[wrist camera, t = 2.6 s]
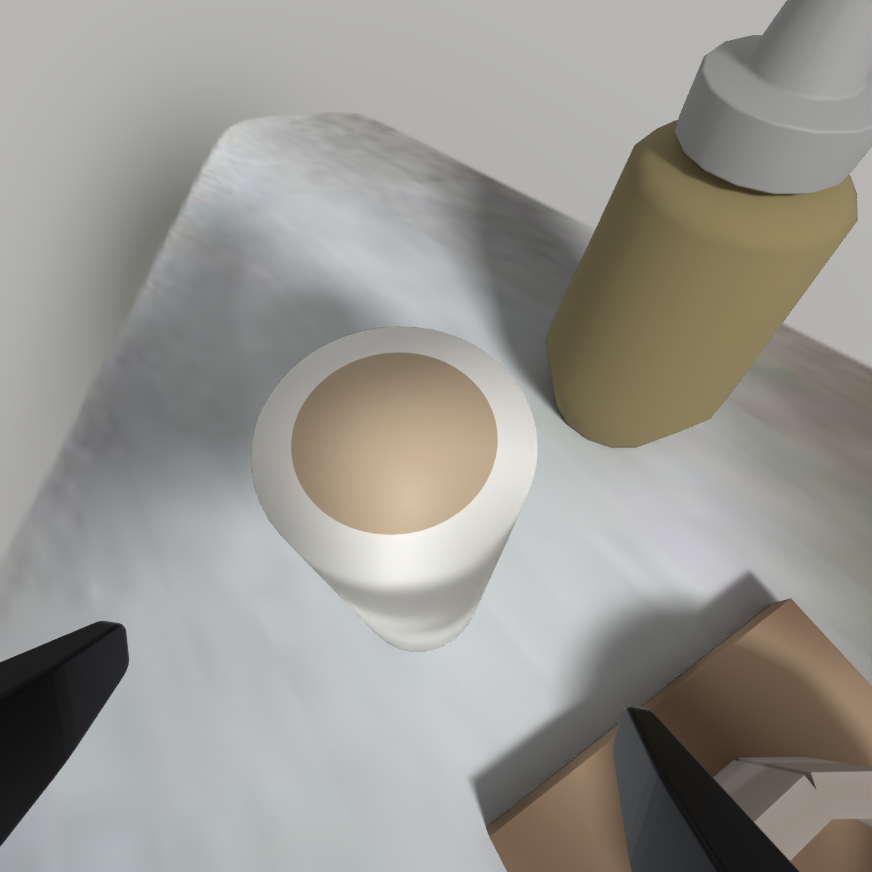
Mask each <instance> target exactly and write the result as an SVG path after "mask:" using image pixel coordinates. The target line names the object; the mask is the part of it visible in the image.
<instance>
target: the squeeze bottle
mask: <svg viewBox="0 0 872 872" xmlns="http://www.w3.org/2000/svg"><path fill="white" fill-rule="evenodd" d="M871 146H872V0H787V1H786V2H785V4H784V5H783V7H782V8H781V10H780V11H779V12H778V14H777V15H776V17H775V18H774V20H773V21H772V23H771V24H770V25H769V27H768V28H767V30H766V31H765V32H764V34H763V35H762V36H761V35H753V36H748V37H743V38H739V39H734V40H730V41H726V42H724V43H723V44H721V45H720V46H718V47H717V48H715V49H714V50H713V51H711V52H710V53H708V54H707V55H705V56H704V58H703V60H702V63H701V65H700V67H699V70H698V72H697V74H696V77H695V79H694V82H693V84H692V87H691V89H690V91H689V94H688V96H687V98H686V101H685V104H684V106H683V108H682V111H681V113H680V116H679V119H678V120H676V121H673V122H671V123H669V124H667V125H664V126H662V127H660V128H658V129H656V130H654V131H653V132H652V133H650V134H649V135H648V136H647V137H645V138H644V139H642V140H641V141H640V142H638V143H637V144H636V145H635V146H634V148H633V150H632V152H631V154H630V157H629V159H628V161H627V163H626V165H625V167H624V169H623V171H622V174H621V176H620V178H619V180H618V182H617V184H616V186H615V189H614V191H613V193H612V195H611V197H610V200H609V202H608V204H607V206H606V208H605V210H604V212H603V214H602V216H601V219H600V221H599V223H598V225H597V227H596V229H595V232H594V234H593V236H592V238H591V240H590V242H589V244H588V247H587V249H586V251H585V253H584V255H583V257H582V259H581V262H580V264H579V266H578V268H577V270H576V272H575V275H574V277H573V279H572V281H571V283H570V285H569V287H568V290H567V292H566V294H565V296H564V298H563V300H562V302H561V305H560V307H559V309H558V311H557V313H556V315H555V318H554V320H553V323H552V326H551V328H550V331H549V334H548V336H547V339H546V345H547V351H548V358H549V365H550V371H551V377H552V382H553V388H554V394H555V399H556V405H557V408H558V409H559V411H560V412H561V414H562V416H563V417H564V419H565V420H566V422H567V423H568V425H569V426H570V427H572V428H573V429H574V430H576V431H577V432H578V433H580V434H581V435H582V436H584V437H585V438H586V439H588V440H590V441H593V442H596V443H599V444H602V445H605V446H608V447H611V448H636V447H639V446H641V445H644V444H647V443H650V442H652V441H655V440H658V439H660V438H663V437H666V436H669V435H671V434H674V433H677V432H679V431H682V430H684V429H687V428H689V427H692V426H694V425H696V424H699V423H701V422H704V421H706V420H709V419H710V418H711V417H712V416H713V415H714V413H715V412H716V411H717V410H718V409H719V407H720V406H721V405H722V404H723V403H724V401H725V400H726V399H727V398H728V396H729V395H730V394H731V392H732V391H733V390H734V388H735V387H736V386H737V384H738V383H739V382H740V380H741V379H742V377H743V376H744V375H745V373H746V372H747V371H748V369H749V368H750V367H751V365H752V364H753V362H754V361H755V360H756V358H757V357H758V356H759V354H760V353H761V352H762V350H763V349H764V347H765V346H766V345H767V343H768V342H769V341H770V339H771V338H772V337H773V335H774V334H775V332H776V331H777V330H778V328H779V327H780V326H781V324H782V323H783V321H784V320H785V319H786V317H787V316H788V315H789V313H790V312H791V311H792V309H793V308H794V306H795V305H796V304H797V302H798V301H799V299H800V298H801V297H802V296H803V294H804V293H805V291H806V290H807V289H808V287H809V286H810V285H811V283H812V282H813V281H814V279H815V278H816V276H817V275H818V274H819V272H820V271H821V270H822V268H823V267H824V266H825V264H826V263H827V261H828V260H829V259H830V257H831V256H832V255H833V253H834V252H835V250H836V249H837V248H838V246H839V245H840V244H841V242H842V241H843V240H844V238H845V237H846V236H847V234H848V233H849V231H850V230H851V229H852V227H853V226H854V225H855V223H856V222H857V220H858V217H857V193H856V190H855V187H854V184H853V182H852V179H851V176H850V175H849V174H850V173H851V171H852V170H853V169H854V168H855V167H856V166H857V164H858V163H859V162H860V160H861V159H862V158H863V157H864V156H865V154H866V153H867V152H868V150H869V149H870V148H871Z"/></svg>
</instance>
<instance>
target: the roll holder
mask: <svg viewBox="0 0 872 872" xmlns="http://www.w3.org/2000/svg"><path fill="white" fill-rule="evenodd" d="M641 708H647V709H649V710H651V711H652V712H653V713H654V714H655V715H656V716H657V717H658V718H659V719H660V720H661V721H662V722H663V723H664V725H665V726H666V727H667V728H668V729H669V730H670V731H671V732H672V733H673V734H674V735H675V737H676V738H677V739H678V740H679V741H680V742H681V743H682V744H683V745H684V746H685V747H686V749H687V750H688V751H689V752H690V753H691V754H692V755H693V756H694V757H695V758H696V759H697V760H698V762H699V763H700V764H701V765H702V766H703V767H704V768H705V769H706V770H707V771H708V772H709V774H710V775H711V776H712V777H713V778H714V779H715V780H716V781H717V782H718V783H719V784H720V785H721V787H722V788H723V789H724V790H725V791H726V792H727V793H728V794H729V795H730V796H731V797H732V799H733V800H734V801H735V802H736V803H737V804H738V805H739V806H740V807H741V808H742V809H743V810H744V812H745V813H746V814H747V815H748V816H749V817H750V818H751V819H752V820H753V821H754V822H755V824H756V825H757V826H758V827H759V828H760V829H761V830H762V831H763V832H764V833H765V834H766V836H767V837H768V838H769V839H770V840H771V841H772V842H773V843H774V844H775V845H776V846H777V847H778V849H779V850H780V851H781V852H782V853H783V854H784V855H785V856H786V857H787V858H788V859H789V861H790V862H791V863H792V864H793V865H794V866H795V867H796V868H797V869H798V870H799V871H800V872H872V686H871V685H870V684H869V683H868V682H867V681H866V680H865V678H864V677H863V676H862V675H861V674H860V673H859V672H858V671H857V670H856V669H855V668H854V666H853V665H852V664H851V663H850V662H849V661H848V660H847V659H846V658H845V657H844V656H843V655H842V653H841V652H840V651H839V650H838V649H837V648H836V647H835V646H834V645H833V644H832V643H831V641H830V640H829V639H828V638H827V637H826V636H825V635H824V634H823V633H822V632H821V631H820V630H819V628H818V627H817V626H816V625H815V624H814V623H813V622H812V621H811V620H810V619H809V618H808V616H807V615H806V614H805V613H804V612H803V611H802V610H801V609H800V608H799V607H798V606H797V604H796V603H795V602H794V601H793V600H792V599H791V598H790V599H787V600H783V601H780V602H776V603H772V604H771V605H769V606H768V607H767V608H766V609H764V610H763V611H762V612H760V613H759V614H758V615H757V616H755V617H754V618H753V619H751V620H750V621H749V622H748V623H746V624H745V625H744V626H743V627H741V628H740V629H739V630H737V631H736V632H735V633H734V634H732V635H731V636H730V637H729V638H727V639H726V640H725V641H723V642H722V643H721V644H720V645H718V646H717V647H716V648H714V649H713V650H712V651H711V652H709V653H708V654H707V655H706V656H704V657H703V658H702V659H700V660H699V661H698V662H697V663H695V664H694V665H693V666H692V667H690V668H689V669H688V670H686V671H685V672H684V673H683V674H681V675H680V676H679V677H677V678H676V679H675V680H674V681H672V682H671V683H670V684H669V685H667V686H666V687H665V688H663V689H662V690H661V691H660V692H658V693H657V694H656V695H655V696H653V697H652V698H651V699H649V700H648V701H647V702H646V703H644V704H643V705H642V706H641ZM617 727H618V725H616V726H615V727H614V728H612V729H611V730H610V731H609V732H607V733H606V734H605V735H604V736H602V737H601V738H600V739H598V740H597V741H596V742H595V743H593V744H592V745H591V746H589V747H588V748H587V749H586V750H584V751H583V752H582V753H581V754H579V755H578V756H577V757H575V758H574V759H573V760H572V761H570V762H569V763H568V764H567V765H565V766H564V767H563V768H561V769H560V770H559V771H558V772H556V773H555V774H554V775H552V776H551V777H550V778H549V779H547V780H546V781H545V782H544V783H542V784H541V785H540V786H538V787H537V788H536V789H535V790H533V791H532V792H531V793H530V794H528V795H527V796H526V797H524V798H523V799H522V800H521V801H519V802H518V803H517V804H515V805H514V806H513V807H512V808H510V809H509V810H508V811H507V812H505V813H504V814H503V815H501V816H500V817H499V818H498V819H496V820H495V821H494V822H493V823H491V824H490V825H489V826H487V827H486V829H487V831H488V834H489V836H490V839H491V841H492V842H493V844H494V846H495V848H496V850H497V852H498V854H499V856H500V858H501V860H502V862H503V864H504V866H505V868H506V870H507V872H632V871H631V867H630V862H629V856H628V850H627V844H626V837H625V831H624V824H623V817H622V811H621V804H620V797H619V791H618V784H617V777H616V771H615V764H614V757H613V743H614V739H615V735H616V731H617Z"/></svg>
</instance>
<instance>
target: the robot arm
mask: <svg viewBox="0 0 872 872" xmlns="http://www.w3.org/2000/svg"><path fill="white" fill-rule="evenodd" d="M128 664H129V654H128V644H127V635H126V629H125V627H124V626H123V625H122V624H120V623H114V622H108V621H99V622H96V623H93V624H91V625H89V626H86V627H84V628H81V629H79V630H77V631H74V632H72V633H69V634H67V635H65V636H62V637H60V638H57V639H55V640H53V641H50V642H48V643H46V644H43V645H41V646H38V647H36V648H34V649H31V650H29V651H26V652H24V653H22V654H19V655H17V656H14V657H12V658H10V659H7V660H5V661H3V662H0V846H1V845H2V844H3V843H4V841H5V840H6V839H7V837H8V836H9V835H10V834H11V832H12V831H13V830H14V828H15V827H16V826H17V825H18V823H19V822H20V821H21V820H22V818H23V817H24V816H25V814H26V813H27V812H28V811H29V809H30V808H31V807H32V805H33V804H34V803H35V802H36V800H37V799H38V798H39V797H40V795H41V794H42V793H43V791H44V790H45V789H46V788H47V786H48V785H49V784H50V782H51V781H52V780H53V779H54V777H55V776H56V775H57V773H58V772H59V771H60V769H61V768H62V767H63V765H64V764H65V763H66V761H67V760H68V759H69V757H70V756H71V754H72V753H73V751H74V750H75V749H76V747H77V746H78V744H79V743H80V741H81V740H82V738H83V737H84V735H85V734H86V732H87V731H88V729H89V728H90V726H91V725H92V723H93V722H94V720H95V719H96V717H97V716H98V714H99V712H100V711H101V709H102V708H103V706H104V705H105V703H106V702H107V700H108V699H109V697H110V696H111V694H112V693H113V691H114V690H115V688H116V687H117V685H118V684H119V682H120V681H121V679H122V678H123V676H124V674H125V672H126V670H127V668H128ZM613 757H614V764H615V771H616V777H617V784H618V791H619V797H620V804H621V811H622V817H623V824H624V831H625V837H626V844H627V850H628V856H629V862H630V867H631V871H632V872H800V871H799V870H798V869H797V868H796V867H795V866H794V865H793V864H792V863H791V862H790V861H789V859H788V858H787V857H786V856H785V855H784V854H783V853H782V852H781V851H780V850H779V849H778V847H777V846H776V845H775V844H774V843H773V842H772V841H771V840H770V839H769V838H768V837H767V836H766V834H765V833H764V832H763V831H762V830H761V829H760V828H759V827H758V826H757V825H756V824H755V822H754V821H753V820H752V819H751V818H750V817H749V816H748V815H747V814H746V813H745V812H744V810H743V809H742V808H741V807H740V806H739V805H738V804H737V803H736V802H735V801H734V800H733V799H732V797H731V796H730V795H729V794H728V793H727V792H726V791H725V790H724V789H723V788H722V787H721V785H720V784H719V783H718V782H717V781H716V780H715V779H714V778H713V777H712V776H711V775H710V774H709V772H708V771H707V770H706V769H705V768H704V767H703V766H702V765H701V764H700V763H699V762H698V760H697V759H696V758H695V757H694V756H693V755H692V754H691V753H690V752H689V751H688V750H687V749H686V747H685V746H684V745H683V744H682V743H681V742H680V741H679V740H678V739H677V738H676V737H675V735H674V734H673V733H672V732H671V731H670V730H669V729H668V728H667V727H666V726H665V725H664V723H663V722H662V721H661V720H660V719H659V718H658V717H657V716H656V715H655V714H654V713H653V712H652V711H651V710H649V709H647V708H641V707H635V706H625V707H624V708H623V710H622V713H621V716H620V720H619V724H618V727H617V731H616V735H615V739H614V743H613Z"/></svg>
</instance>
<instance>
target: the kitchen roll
mask: <svg viewBox="0 0 872 872" xmlns="http://www.w3.org/2000/svg"><path fill="white" fill-rule="evenodd" d="M537 452H538V445H537V432H536V427H535V422H534V417H533V415H532V412H531V409H530V406H529V404H528V401H527V400H526V398H525V396H524V394H523V392H522V390H521V388H520V387H519V386H518V384H517V383H516V381H515V380H514V379H513V377H512V376H511V375H510V374H509V373H508V372H507V370H506V369H505V368H504V367H503V366H502V365H501V364H500V363H499V362H497V361H496V360H495V359H494V358H493V357H491V356H490V355H489V354H487V353H486V352H484V351H483V350H481V349H480V348H478V347H477V346H475V345H473V344H471V343H469V342H467V341H465V340H463V339H461V338H458V337H455V336H453V335H450V334H447V333H443V332H439V331H435V330H431V329H425V328H418V327H400V326H398V327H382V328H376V329H370V330H365V331H361V332H357V333H353V334H350V335H347V336H344V337H342V338H339V339H337V340H334V341H332V342H330V343H328V344H326V345H324V346H322V347H320V348H319V349H317V350H316V351H314V352H312V353H311V354H309V355H308V356H306V357H305V358H304V359H303V360H301V361H300V362H299V363H298V364H296V365H295V366H294V367H293V368H292V369H291V370H290V371H289V372H288V373H287V374H286V375H285V376H284V377H283V378H282V379H281V381H280V382H279V383H278V384H277V386H276V387H275V388H274V390H273V391H272V392H271V394H270V396H269V397H268V399H267V401H266V403H265V404H264V406H263V408H262V411H261V413H260V415H259V418H258V420H257V423H256V427H255V431H254V435H253V440H252V448H251V471H252V477H253V482H254V488H255V490H256V493H257V496H258V499H259V502H260V504H261V506H262V508H263V510H264V512H265V514H266V515H267V517H268V519H269V521H270V522H271V523H272V525H273V526H274V527H275V528H276V530H277V531H278V532H279V534H280V535H281V536H282V537H283V538H284V539H285V540H286V541H287V542H288V543H289V544H290V545H291V546H292V547H293V548H294V549H295V550H296V551H297V553H298V554H299V555H300V556H301V557H302V558H303V559H304V560H305V561H306V562H307V563H308V564H309V565H310V566H311V567H312V568H313V569H314V570H315V571H316V572H317V573H318V574H319V575H320V576H321V577H322V578H323V579H324V580H325V581H326V583H327V584H328V585H329V586H330V587H331V588H332V589H333V590H334V591H335V592H336V593H337V594H338V595H339V596H340V597H341V598H342V599H343V600H344V601H345V602H346V603H347V604H348V605H349V606H350V607H351V608H352V609H353V610H354V611H355V612H356V614H357V615H358V616H359V617H360V618H361V619H362V620H363V621H364V622H365V623H366V624H367V625H368V626H369V627H370V628H371V629H372V630H373V631H374V632H375V633H376V634H377V635H378V636H379V637H380V638H381V639H383V640H384V641H385V642H387V643H388V644H390V645H392V646H394V647H397V648H400V649H402V650H407V651H416V652H421V651H429V650H433V649H437V648H439V647H442V646H444V645H446V644H448V643H450V642H451V641H452V640H454V639H455V638H456V637H458V636H459V635H460V634H461V633H462V632H463V631H464V629H465V628H466V627H467V625H468V624H469V622H470V621H471V619H472V617H473V615H474V613H475V611H476V608H477V606H478V604H479V602H480V600H481V597H482V595H483V593H484V591H485V588H486V586H487V584H488V582H489V580H490V577H491V575H492V573H493V571H494V568H495V566H496V564H497V562H498V560H499V557H500V555H501V553H502V551H503V548H504V546H505V544H506V542H507V540H508V537H509V535H510V533H511V531H512V529H513V526H514V524H515V522H516V520H517V517H518V515H519V513H520V511H521V509H522V506H523V504H524V502H525V500H526V497H527V495H528V492H529V490H530V487H531V485H532V482H533V478H534V474H535V470H536V464H537Z"/></svg>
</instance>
